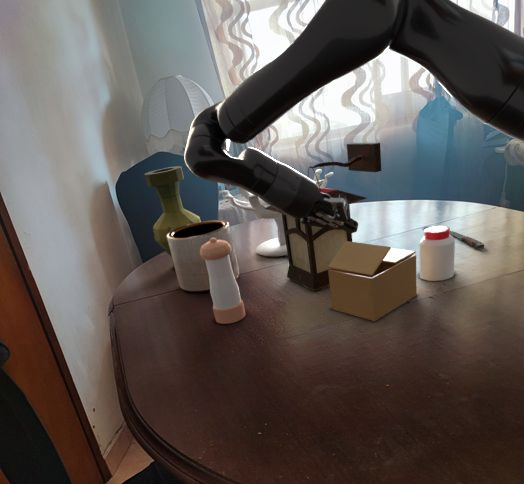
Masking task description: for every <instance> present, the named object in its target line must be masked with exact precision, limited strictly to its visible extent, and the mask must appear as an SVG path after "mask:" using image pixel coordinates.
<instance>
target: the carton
mask: <svg viewBox="0 0 524 484" xmlns="http://www.w3.org/2000/svg"><path fill="white" fill-rule="evenodd" d="M416 252H417V251H416V250H410V249H403V248H402V249H401V248H396V247H395V248H394V247H391V249H390V250H389V252H388V253H387V255H386V256H385V258H384V259H383V261H382V262H381V264H380V265H379V267H378V268H377V270H376V271H375V273H374V274H373V276H370V275H364V274H359V273H354V272H349V271H344V270H339V269H334V268H331V269H329V270H328V274H329V283H330V286H329V291H330V301H331V309H332V310H333V311H336V312H341V313H344V314H347V315H352V316H354V317H358V318H362V319H366V320H369V321H373V322H376V321H378V320H379V319H382V318H383V317H384V316H385V315H388V314H389V313H390V312H392V311H393V310H395V309H397V308H398V307H400V306H401V305H404V304H405V303H406V302H408V301H410V300H411V299H413V298H415V297H416V296H417V294H418V293H417V291H418V290H417V254H416Z"/></svg>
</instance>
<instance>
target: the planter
mask: <svg viewBox="0 0 524 484" xmlns="http://www.w3.org/2000/svg"><path fill="white" fill-rule="evenodd" d="M211 238H216V239H217V240H224V241H227V242H228V243H229V244H230V246H231V252H230V254H229V257H230V262H231V266H232V271H233V274H234V277H235V279H236V280H237V279H239V276H240V268H239V267H240V266H239V262H238V259H237V254H236V249H235V245H234V240H233V235H232V231H231V226H230V223H229V221H227V220H223V219H211V220H203V221H202V220H201V222H197V223H193V224H189V225H185V226H182V227H179V228H177V229H175V230H173V231H171V232H170V233H168V234H167V239H168V243H169V247H170V251H171V255H172V257H171V258H172V261H173V262H174V266H175V275H176V279H177V281H178V286H179V287H180V289H182V290H183V291H186V292H188V293H207V292H208V293H209V292H210V282H209V274H208V270H207V265H206V261H205V259H203V258H202V257H201V255H200V249H201V247H202V246H203V245H204V244H205V243H207V242H209V241H210V239H211ZM173 262H172V263H173ZM174 266H173V267H174Z"/></svg>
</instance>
